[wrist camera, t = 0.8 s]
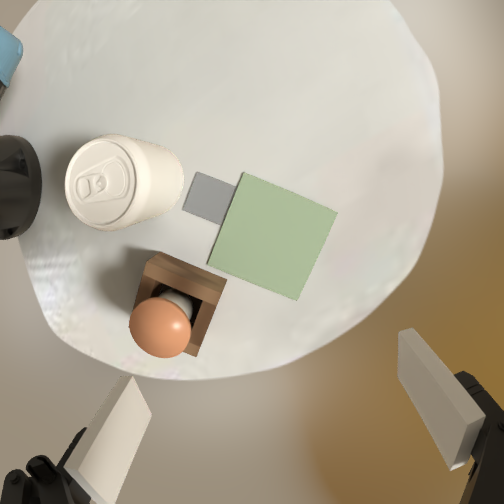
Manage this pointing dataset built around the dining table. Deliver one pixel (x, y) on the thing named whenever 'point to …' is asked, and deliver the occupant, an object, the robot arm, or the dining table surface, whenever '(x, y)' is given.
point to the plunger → (163, 323)
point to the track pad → (209, 198)
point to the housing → (183, 290)
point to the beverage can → (121, 182)
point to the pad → (271, 237)
